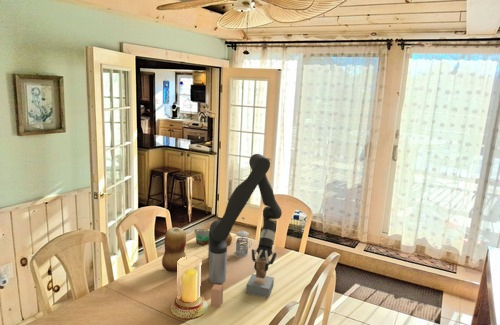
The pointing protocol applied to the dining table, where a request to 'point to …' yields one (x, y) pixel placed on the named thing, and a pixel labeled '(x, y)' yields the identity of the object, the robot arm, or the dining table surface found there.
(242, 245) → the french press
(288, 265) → the dining table surface
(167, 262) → the butternut squash
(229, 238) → the bread roll
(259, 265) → the walnut block
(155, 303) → the dining table surface
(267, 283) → the slate plinth
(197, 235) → the food container
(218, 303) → the terracotta block
